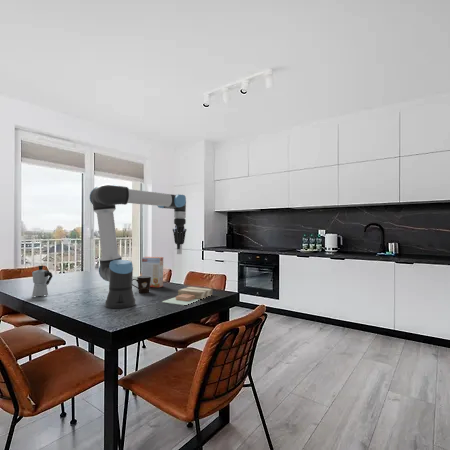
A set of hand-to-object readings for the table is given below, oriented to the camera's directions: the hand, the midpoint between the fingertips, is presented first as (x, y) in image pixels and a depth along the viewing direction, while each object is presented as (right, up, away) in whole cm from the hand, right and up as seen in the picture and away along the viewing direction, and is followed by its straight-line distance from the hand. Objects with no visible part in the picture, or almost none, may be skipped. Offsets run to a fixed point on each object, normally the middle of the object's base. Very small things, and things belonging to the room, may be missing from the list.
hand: (179, 254), depth 198 cm
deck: (+12, -24, -14) cm, 31 cm away
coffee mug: (-24, -24, -5) cm, 34 cm away
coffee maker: (-79, -23, -19) cm, 85 cm away
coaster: (+7, -24, -24) cm, 35 cm away
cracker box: (-21, -25, +15) cm, 36 cm away
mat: (+5, -24, -28) cm, 37 cm away
